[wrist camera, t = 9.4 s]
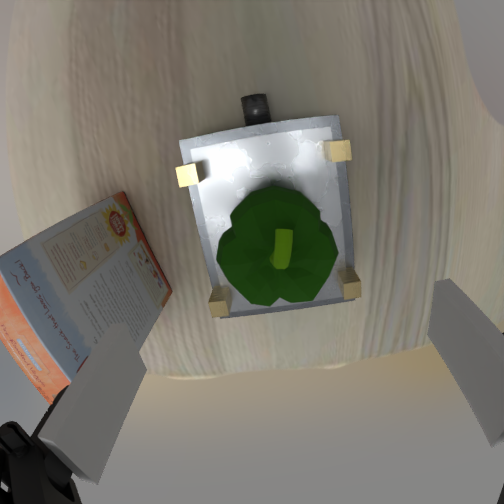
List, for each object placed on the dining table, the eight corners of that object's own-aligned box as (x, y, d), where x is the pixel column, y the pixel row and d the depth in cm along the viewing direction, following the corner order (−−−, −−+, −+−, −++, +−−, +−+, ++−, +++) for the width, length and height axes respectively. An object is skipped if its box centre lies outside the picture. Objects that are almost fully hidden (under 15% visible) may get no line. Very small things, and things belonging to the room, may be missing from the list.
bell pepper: (296, 283, 29) (307, 350, 19) (215, 247, 28) (190, 303, 19) (340, 205, 26) (377, 243, 17) (254, 162, 25) (246, 177, 16)
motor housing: (189, 113, 30) (160, 105, 21) (321, 91, 28) (340, 75, 20) (227, 291, 37) (215, 336, 28) (343, 275, 35) (363, 316, 27)
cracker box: (88, 208, 34) (-37, 280, 15) (125, 189, 33) (-7, 255, 14) (136, 304, 39) (59, 421, 19) (174, 292, 37) (105, 422, 18)
